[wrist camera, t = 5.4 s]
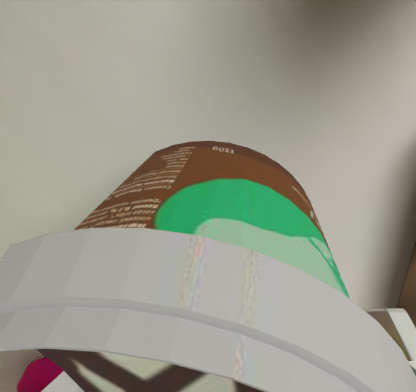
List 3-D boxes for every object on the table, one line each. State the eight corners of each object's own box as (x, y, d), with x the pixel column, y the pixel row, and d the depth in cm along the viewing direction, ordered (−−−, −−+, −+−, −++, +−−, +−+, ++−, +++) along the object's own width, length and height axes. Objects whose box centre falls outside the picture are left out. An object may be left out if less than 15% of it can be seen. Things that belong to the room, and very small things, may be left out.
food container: (376, 294, 16) (506, 619, 8) (257, 322, 18) (257, 605, 10) (284, 45, 11) (364, 185, 3) (135, 119, 13) (-78, 333, 5)
